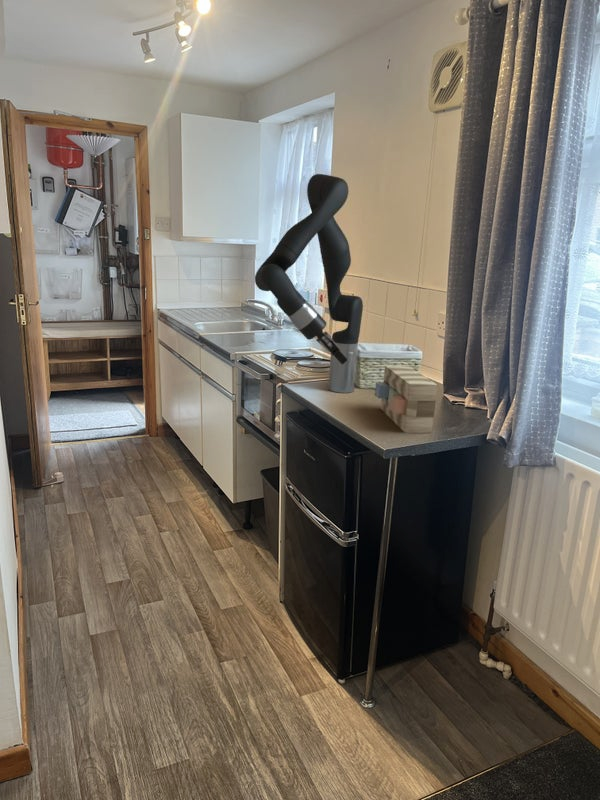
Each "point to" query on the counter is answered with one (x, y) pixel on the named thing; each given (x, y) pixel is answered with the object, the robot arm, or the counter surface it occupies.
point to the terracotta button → (398, 404)
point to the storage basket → (382, 361)
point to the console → (411, 399)
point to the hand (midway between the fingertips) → (344, 361)
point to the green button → (392, 394)
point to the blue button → (382, 390)
